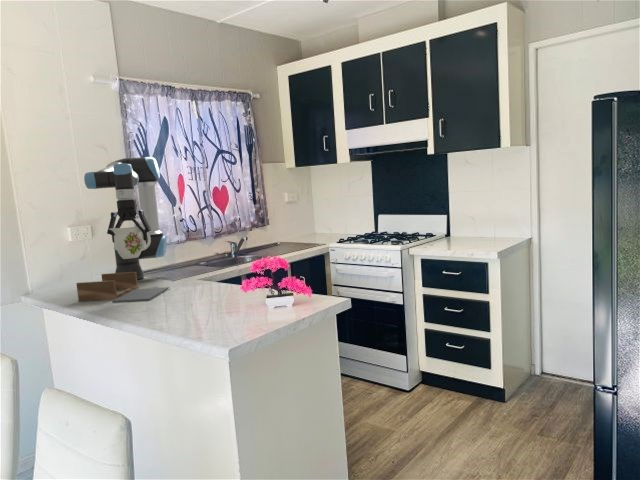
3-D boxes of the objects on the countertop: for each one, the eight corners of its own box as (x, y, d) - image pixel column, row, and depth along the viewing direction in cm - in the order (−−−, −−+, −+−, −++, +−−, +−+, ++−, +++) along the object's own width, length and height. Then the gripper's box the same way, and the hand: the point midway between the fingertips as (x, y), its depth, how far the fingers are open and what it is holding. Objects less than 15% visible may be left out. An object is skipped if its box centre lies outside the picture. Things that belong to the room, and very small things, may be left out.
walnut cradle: (104, 290, 235) (103, 273, 234) (138, 288, 234) (136, 271, 233) (78, 301, 211) (76, 283, 210) (115, 299, 210) (113, 281, 209)
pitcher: (157, 254, 216) (154, 224, 215) (117, 261, 204) (113, 228, 202) (146, 254, 224) (143, 224, 223) (107, 260, 211) (103, 228, 210)
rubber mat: (135, 290, 227) (135, 289, 227) (169, 288, 226) (169, 287, 226) (112, 302, 203) (112, 300, 203) (149, 300, 202) (149, 298, 202)
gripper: (95, 201, 208) (100, 251, 210) (148, 197, 207) (153, 248, 209) (103, 201, 216) (109, 249, 218) (155, 197, 214) (160, 246, 216)
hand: (130, 249), depth 213 cm, fingers closed on pitcher, 11 cm apart
